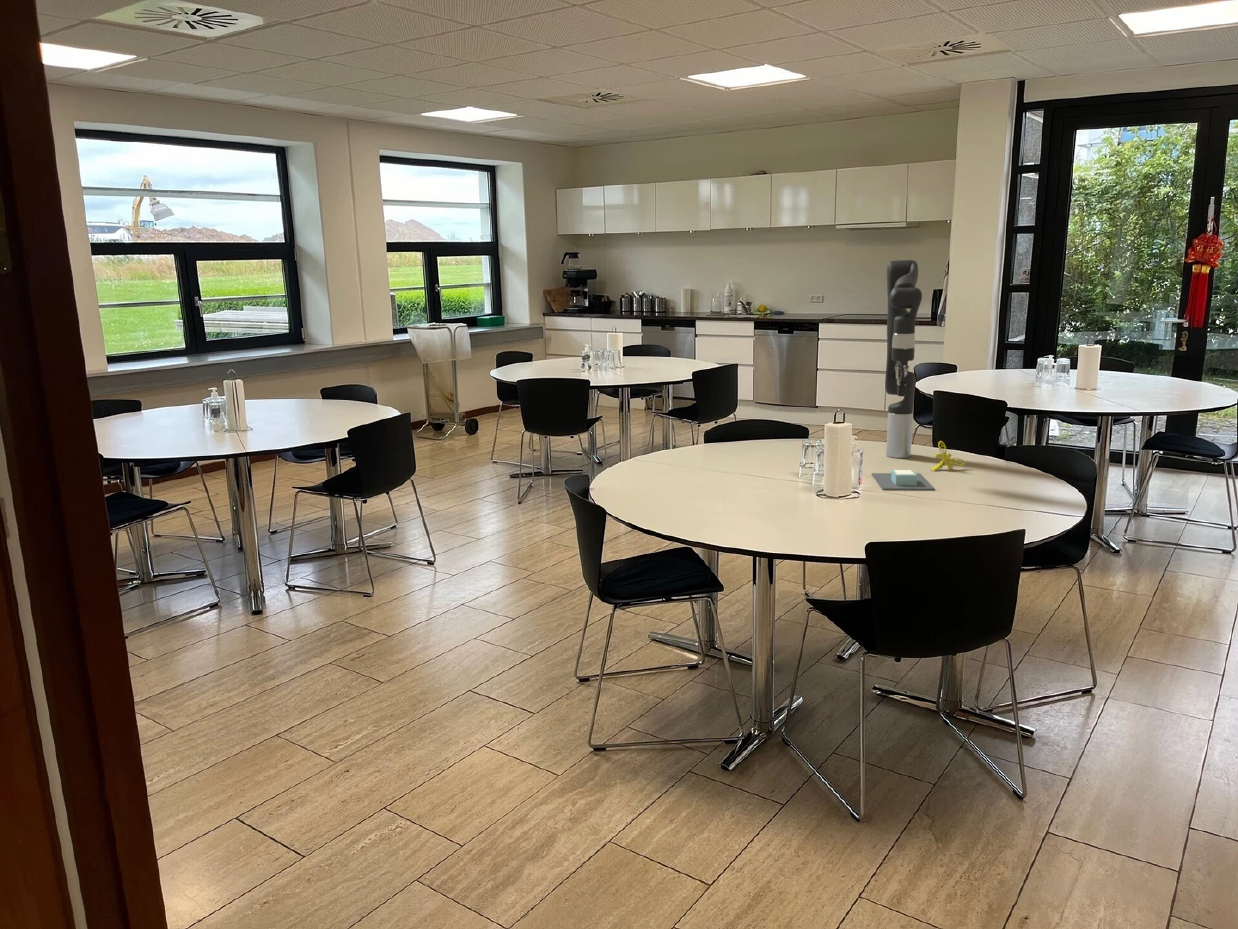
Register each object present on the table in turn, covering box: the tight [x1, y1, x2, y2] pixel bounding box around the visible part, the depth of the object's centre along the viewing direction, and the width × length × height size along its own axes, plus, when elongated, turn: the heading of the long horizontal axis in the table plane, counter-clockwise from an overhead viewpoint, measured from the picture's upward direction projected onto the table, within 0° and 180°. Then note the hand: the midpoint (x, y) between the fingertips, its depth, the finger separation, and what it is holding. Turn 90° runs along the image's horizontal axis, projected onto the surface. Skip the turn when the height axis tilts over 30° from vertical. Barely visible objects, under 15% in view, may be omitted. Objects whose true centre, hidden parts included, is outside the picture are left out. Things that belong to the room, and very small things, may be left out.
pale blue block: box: [890, 469, 917, 485], centre depth 312 cm, size 4×7×8 cm
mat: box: [871, 472, 936, 491], centre depth 315 cm, size 22×17×1 cm
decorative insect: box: [930, 440, 966, 472], centre depth 331 cm, size 13×3×10 cm
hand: (900, 396), depth 317 cm, fingers closed
